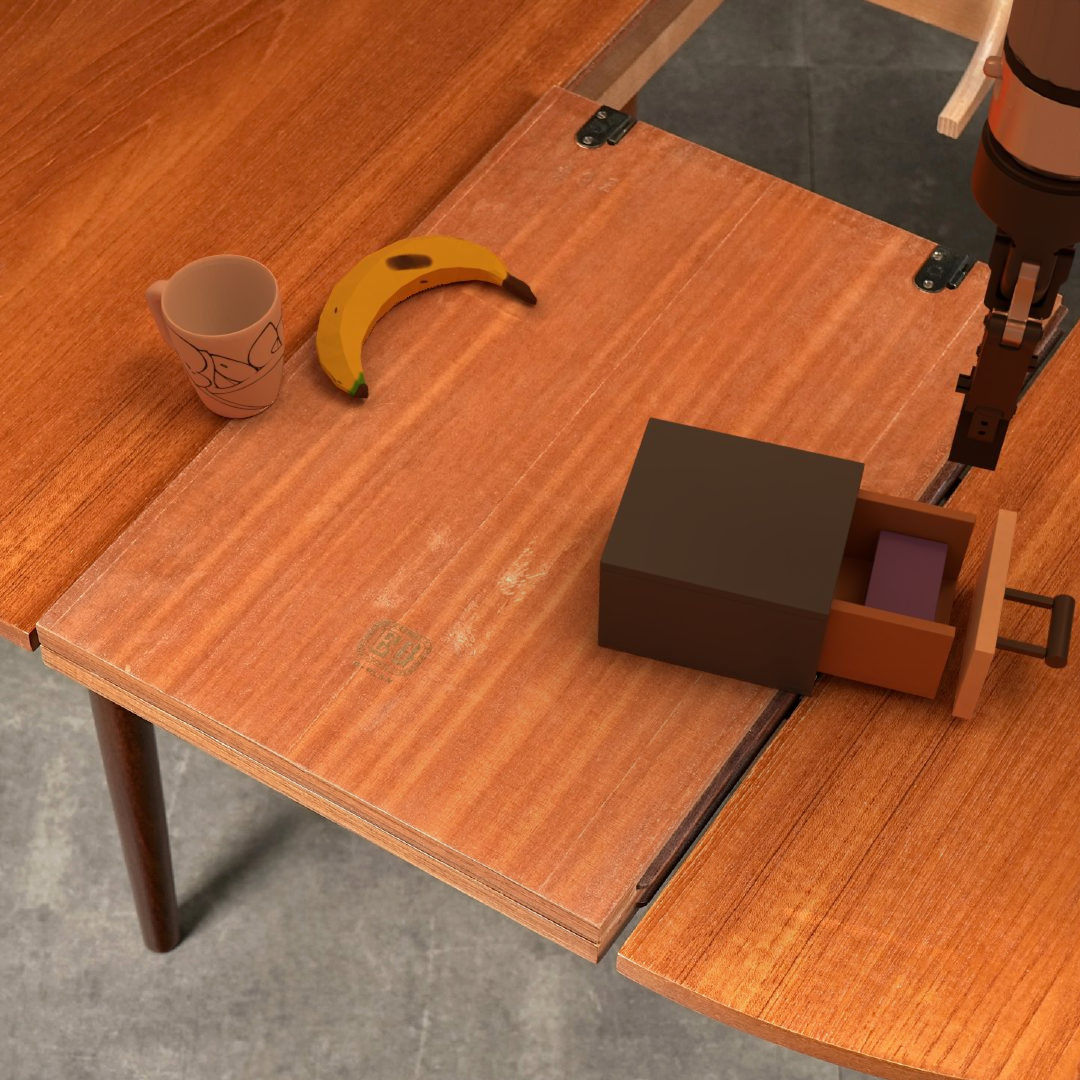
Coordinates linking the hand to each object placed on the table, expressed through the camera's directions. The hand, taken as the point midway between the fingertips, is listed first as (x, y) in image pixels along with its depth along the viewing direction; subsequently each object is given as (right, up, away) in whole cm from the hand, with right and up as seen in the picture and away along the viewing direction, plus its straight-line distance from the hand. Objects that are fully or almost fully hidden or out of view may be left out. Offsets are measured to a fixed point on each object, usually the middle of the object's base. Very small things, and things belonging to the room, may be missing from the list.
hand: (973, 456), depth 98 cm
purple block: (-1, -10, +15) cm, 18 cm away
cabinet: (-12, -9, +19) cm, 24 cm away
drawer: (0, -11, +16) cm, 19 cm away
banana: (-34, +11, +34) cm, 50 cm away
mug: (-49, +7, +31) cm, 59 cm away
